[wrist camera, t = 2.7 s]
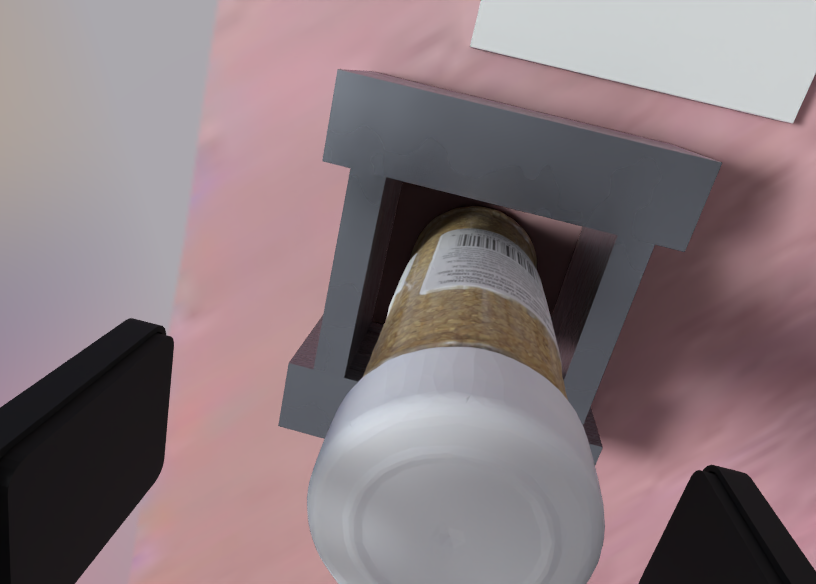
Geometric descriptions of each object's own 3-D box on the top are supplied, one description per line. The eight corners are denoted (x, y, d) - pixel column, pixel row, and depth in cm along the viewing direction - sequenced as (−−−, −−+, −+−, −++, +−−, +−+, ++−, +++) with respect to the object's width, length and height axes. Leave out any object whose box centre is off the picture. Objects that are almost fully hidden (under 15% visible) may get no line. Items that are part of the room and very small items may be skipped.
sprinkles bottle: (386, 266, 22) (240, 529, 9) (472, 175, 20) (439, 338, 7) (477, 346, 22) (457, 696, 10) (566, 263, 21) (682, 552, 8)
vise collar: (670, 143, 19) (722, 162, 15) (561, 429, 23) (577, 507, 19) (371, 71, 19) (337, 69, 15) (316, 363, 23) (278, 426, 19)
